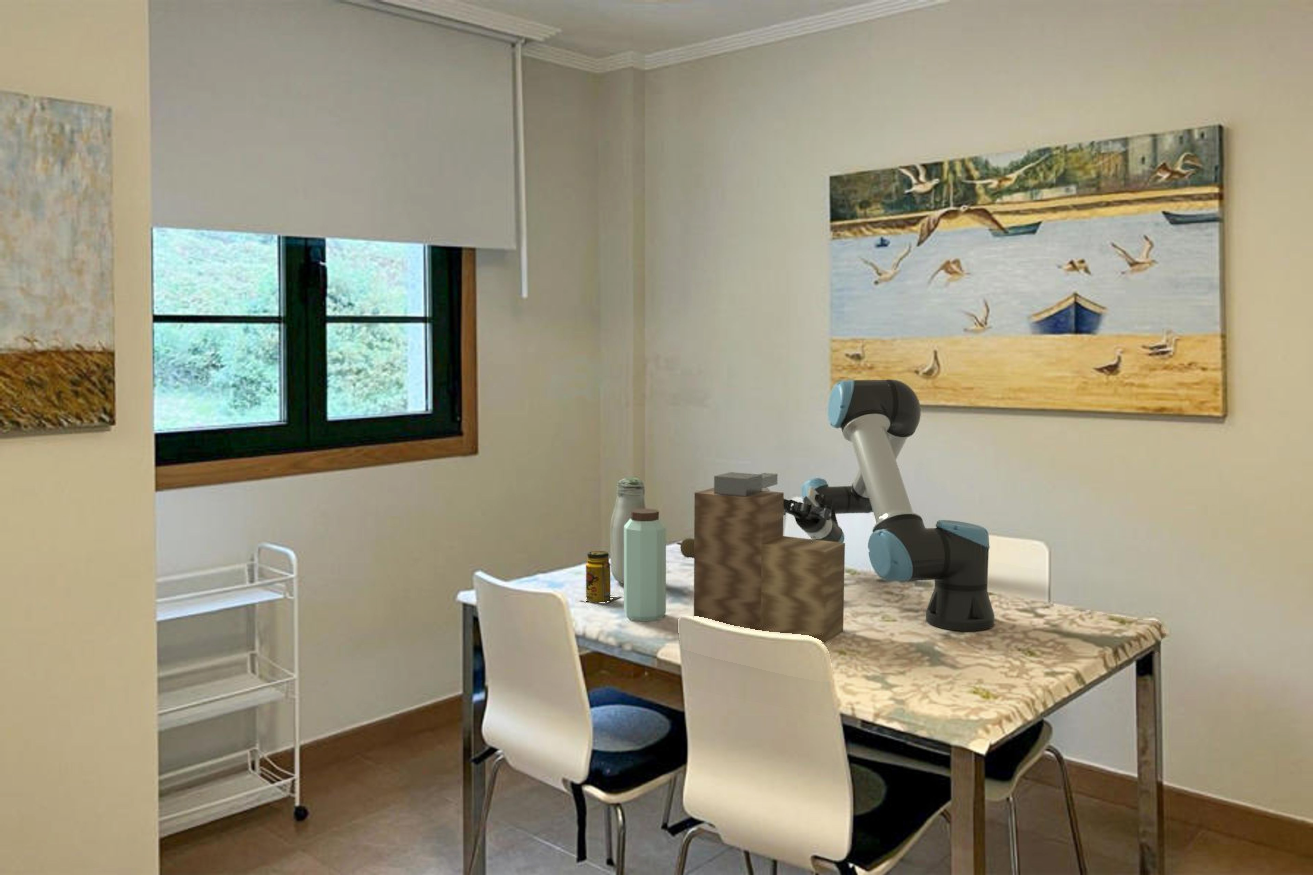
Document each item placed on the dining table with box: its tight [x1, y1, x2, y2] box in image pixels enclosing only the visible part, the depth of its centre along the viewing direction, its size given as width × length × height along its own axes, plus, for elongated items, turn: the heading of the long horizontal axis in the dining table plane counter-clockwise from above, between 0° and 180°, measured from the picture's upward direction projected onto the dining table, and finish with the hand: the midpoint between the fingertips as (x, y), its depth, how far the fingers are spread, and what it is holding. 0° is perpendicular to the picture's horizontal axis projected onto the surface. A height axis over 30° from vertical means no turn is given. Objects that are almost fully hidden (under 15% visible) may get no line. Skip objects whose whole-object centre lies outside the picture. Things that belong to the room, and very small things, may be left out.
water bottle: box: [623, 508, 667, 622], centre depth 254 cm, size 10×10×25 cm
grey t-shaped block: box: [713, 471, 778, 497], centre depth 253 cm, size 8×21×4 cm, turn 149°
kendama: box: [676, 537, 694, 558], centre depth 323 cm, size 6×10×20 cm
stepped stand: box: [693, 487, 846, 644], centre depth 246 cm, size 32×11×30 cm, turn 59°
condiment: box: [580, 550, 622, 605], centre depth 271 cm, size 7×8×12 cm
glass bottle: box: [609, 477, 647, 584], centre depth 287 cm, size 10×10×28 cm
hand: (783, 488), depth 269 cm, fingers open, 13 cm apart
